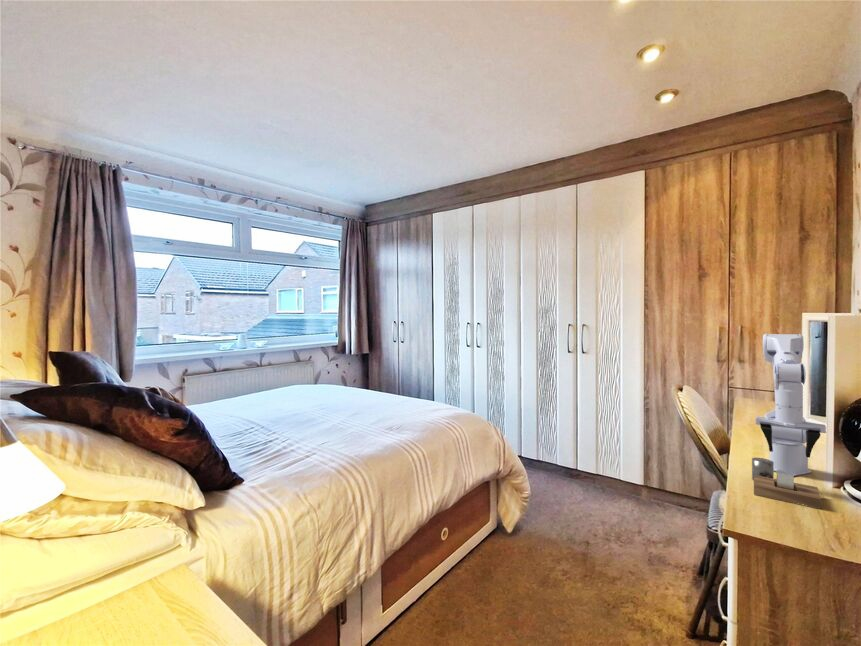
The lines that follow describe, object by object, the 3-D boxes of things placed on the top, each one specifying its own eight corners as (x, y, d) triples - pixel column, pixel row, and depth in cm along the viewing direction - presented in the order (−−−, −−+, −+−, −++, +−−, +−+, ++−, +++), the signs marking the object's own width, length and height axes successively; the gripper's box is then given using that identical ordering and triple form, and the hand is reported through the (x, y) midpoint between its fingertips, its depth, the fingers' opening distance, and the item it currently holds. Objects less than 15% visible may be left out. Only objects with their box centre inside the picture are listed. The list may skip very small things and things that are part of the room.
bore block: (753, 483, 112) (753, 474, 112) (816, 496, 104) (816, 487, 104) (753, 494, 105) (753, 485, 105) (821, 509, 97) (821, 499, 97)
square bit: (776, 491, 107) (776, 469, 107) (792, 494, 105) (792, 472, 105) (777, 495, 104) (777, 473, 104) (793, 498, 102) (793, 476, 102)
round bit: (752, 476, 117) (752, 456, 117) (773, 480, 114) (773, 460, 114) (752, 481, 114) (752, 461, 113) (773, 485, 110) (773, 464, 110)
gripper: (755, 404, 111) (755, 451, 111) (827, 412, 102) (827, 463, 102) (755, 400, 117) (755, 445, 117) (823, 407, 107) (823, 455, 107)
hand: (788, 453), depth 110 cm, fingers open, 7 cm apart
